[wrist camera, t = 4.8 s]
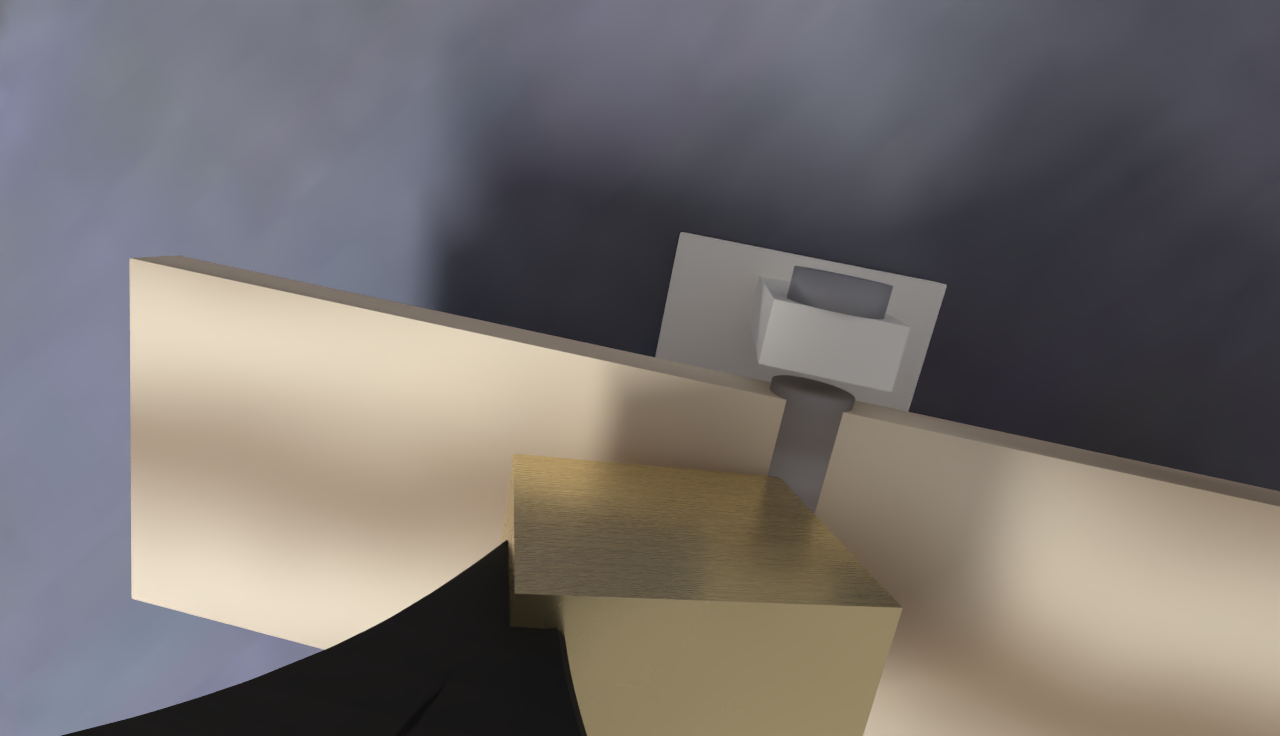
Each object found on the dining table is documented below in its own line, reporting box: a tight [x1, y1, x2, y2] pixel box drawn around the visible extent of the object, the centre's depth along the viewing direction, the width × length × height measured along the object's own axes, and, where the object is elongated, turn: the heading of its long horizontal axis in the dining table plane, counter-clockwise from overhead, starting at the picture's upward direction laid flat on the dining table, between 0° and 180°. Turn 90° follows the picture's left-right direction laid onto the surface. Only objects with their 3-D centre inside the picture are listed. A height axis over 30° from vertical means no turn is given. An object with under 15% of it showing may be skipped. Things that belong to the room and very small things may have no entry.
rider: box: [501, 454, 903, 736], centre depth 10 cm, size 5×5×4 cm
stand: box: [655, 232, 947, 412], centre depth 16 cm, size 13×7×7 cm, turn 169°
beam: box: [130, 256, 1280, 736], centre depth 14 cm, size 8×28×4 cm, turn 79°
